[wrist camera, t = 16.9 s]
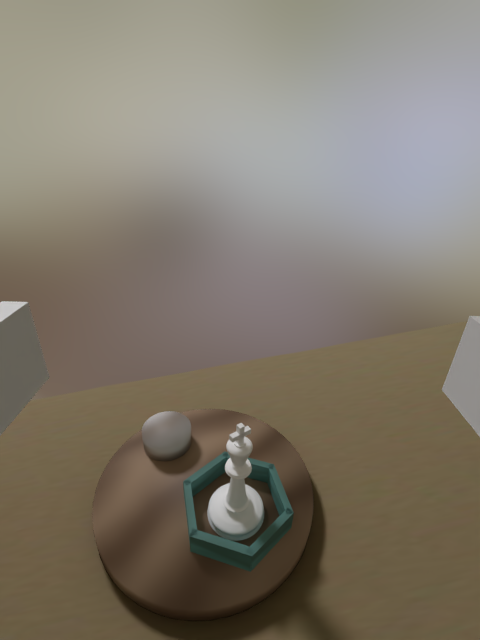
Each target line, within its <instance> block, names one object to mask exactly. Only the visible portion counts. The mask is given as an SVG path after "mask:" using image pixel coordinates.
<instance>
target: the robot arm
mask: <svg viewBox="0 0 480 640" xmlns="http://www.w3.org/2000/svg"><path fill="white" fill-rule="evenodd" d="M48 379H49V374H48V371H47V367H46V364H45V360H44V357H43V353H42V349H41V346H40V342H39V339H38V335H37V332H36V328H35V325H34V321H33V318H32V314H31V311H30V308H29V303H28V302H6V301H5V302H4V301H3V302H1V303H0V435H1V434H2V433H3V432H4V431H5V429H6V428H7V427H8V426H9V425H10V423H11V422H12V421H13V420H14V419H15V418H16V416H17V415H18V414H19V413H20V412H21V410H22V409H23V408H24V407H25V406H26V405H27V403H28V402H29V401H30V400H31V399H32V397H33V396H34V395H35V394H36V393H37V392H38V390H39V389H40V388H41V387H42V385H43V384H44V383H45V382H46V381H47V380H48ZM442 391H443V392H444V393H445V394H446V395H447V397H448V398H449V399H450V400H451V402H452V403H453V404H454V405H455V407H456V408H457V409H458V410H459V412H460V413H461V414H462V415H463V417H464V418H465V419H466V420H467V422H468V423H469V424H470V425H471V427H472V428H473V429H474V430H475V432H476V433H477V434H478V435H479V436H480V316H470V317H469V319H468V322H467V325H466V327H465V330H464V333H463V335H462V338H461V340H460V343H459V346H458V348H457V351H456V354H455V356H454V359H453V362H452V364H451V367H450V370H449V372H448V375H447V378H446V380H445V383H444V385H443V388H442Z"/></svg>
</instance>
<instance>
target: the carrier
mask: <svg viewBox="0 0 480 640" xmlns="http://www.w3.org/2000/svg"><path fill="white" fill-rule="evenodd" d="M239 423H242V424H243V425H244V426H245V427H246V426H249V427H250V429H251V434H249V435H247V436H245V437H247V438H248V439H250V441H251V442H252V445H253V449H252V452H251V454H250V455H249V457H248V458H247V459H248V460H249V461H250V463H251V466H252V470H251V473H250V475H249V476H248V477H246V478H244V480H245V484H246V485H248V486H250V487H252V488H253V489H254V490H256V491H257V493H258V494H259V495H260V497H261V499H262V502H263V506H264V520H263V523H262V525H261V527H260V529H259V530H258V531H257V532H256V533H255V534H254V535H253V536H251V537H249V538H247V539H244V540H239V541H233V540H228V539H225V538H223V537H221V536H220V535H218V534H217V533H216V532H215V531H214V530H213V529H212V527H211V525H210V523H209V521H208V516H207V510H208V505H209V501H210V498H211V496H212V495H213V493H214V492H215V491H216V490H217V489H218V488H219V487H221V486H223V485H225V484H228V483H230V480H231V477H230V476H228V475H227V473H226V471H225V464H226V462H227V460H228V459H229V458H230V455H229V454H228V451H227V448H226V445H227V442H228V440H229V435H230V434H232V433H234V432H236V426H237V424H239ZM313 506H314V497H313V489H312V484H311V480H310V476H309V473H308V471H307V468H306V466H305V464H304V462H303V460H302V458H301V457H300V455H299V453H298V452H297V451H296V449H295V448H294V447H293V445H292V444H291V443H290V442H289V441H288V440H287V439H286V438H285V437H284V436H283V435H282V434H280V433H279V432H278V431H277V430H275V429H274V428H272V427H271V426H269V425H268V424H266V423H264V422H262V421H260V420H258V419H256V418H254V417H251V416H249V415H246V414H242V413H239V412H234V411H229V410H220V409H200V410H191V411H185V412H181V413H178V412H173V411H167V412H161V413H158V414H156V415H153V416H152V417H150V418H149V419H148V420H147V421H146V422H145V423H144V425H143V427H142V430H140V431H139V432H137V433H136V434H135V435H133V436H132V437H131V438H130V439H129V440H128V441H126V442H125V443H124V444H123V445H122V446H121V447H120V449H119V450H118V451H117V452H116V453H115V454H114V455H113V457H112V458H111V460H110V461H109V463H108V464H107V466H106V468H105V470H104V471H103V473H102V475H101V477H100V480H99V483H98V485H97V488H96V492H95V496H94V501H93V512H92V521H93V531H94V535H95V539H96V543H97V547H98V551H99V555H100V558H101V560H102V562H103V565H104V567H105V569H106V571H107V573H108V574H109V576H110V577H111V579H112V580H113V582H114V583H115V584H116V585H117V586H118V587H119V589H120V590H121V591H122V592H123V593H124V594H125V595H126V596H127V597H129V598H130V599H132V600H133V601H134V602H136V603H137V604H138V605H140V606H142V607H144V608H146V609H148V610H150V611H152V612H154V613H156V614H159V615H162V616H166V617H169V618H172V619H179V620H188V621H204V620H214V619H219V618H224V617H229V616H231V615H234V614H237V613H239V612H242V611H245V610H247V609H249V608H251V607H252V606H254V605H256V604H258V603H260V602H261V601H263V600H264V599H265V598H267V597H268V596H269V595H271V594H272V593H273V592H274V591H276V590H277V589H278V588H279V587H280V586H281V584H282V583H283V582H284V581H285V580H286V579H287V578H288V577H289V575H290V574H291V573H292V571H293V570H294V568H295V567H296V565H297V564H298V562H299V560H300V558H301V556H302V554H303V552H304V549H305V546H306V543H307V540H308V537H309V533H310V528H311V523H312V517H313Z"/></svg>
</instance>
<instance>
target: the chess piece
mask: <svg viewBox="0 0 480 640" xmlns="http://www.w3.org/2000/svg"><path fill="white" fill-rule="evenodd" d="M249 434H251V429H250V427H249V426H246V427H245V426H244V425H243V424H242V423H239V424H237V426H236V432H234V433H232V434H230V435H229V440H228V442H227V445H226V448H227V451H228V454H229V455H230V458H229V459H228V460H227V462H226V464H225V471H226V473H227V475H228V476H230V477H231V480H230V483H228V484H225V485H223V486H221V487H219V488H218V489H217V490H216V491H215V492H214V493H213V495H212V496H211V498H210V501H209V505H208V510H207V516H208V521H209V523H210V525H211V527H212V529H213V530H214V531H215V532H216V533H217V534H218V535H220V536H221V537H223V538H225V539H228V540H233V541H239V540H244V539H247V538H249V537H251V536H253V535H254V534H255V533H256V532H257V531H258V530H259V529H260V527H261V525H262V523H263V520H264V506H263V502H262V499H261V497H260V495H259V494H258V493H257V491H256V490H254V489H253V488H252V487H250V486H248V485H246V484H245V480H244V478H246V477H248V476H249V475H250V473H251V470H252V466H251V463H250V461H249V460H248V459H247V458H248V457H249V455H250V454H251V452H252V449H253V445H252V442H251V441H250V439H248V438H247V437H245V436H247V435H249Z"/></svg>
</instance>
